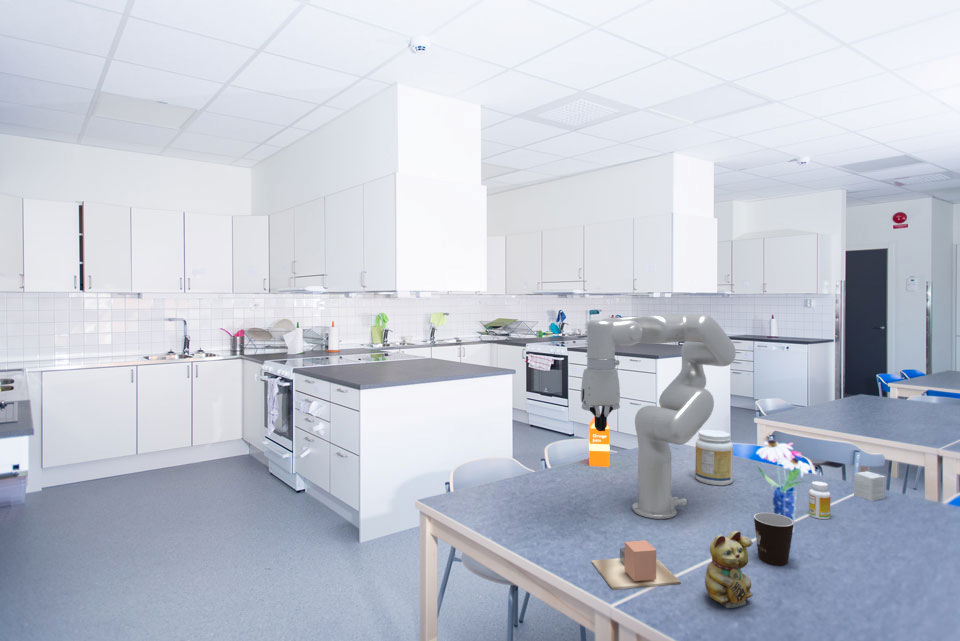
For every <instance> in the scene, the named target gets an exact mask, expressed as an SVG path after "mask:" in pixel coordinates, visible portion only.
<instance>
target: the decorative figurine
mask: <svg viewBox="0 0 960 641" xmlns="http://www.w3.org/2000/svg"><path fill="white" fill-rule="evenodd" d="M741 534H742V533H741V531H739V530H732V531H731V532H730V533H729V534H728V536H727V537H726V536H725V535H722V534H718V535H717V536H715V537H714V539H713V540H712V541H711V543H710V545H709V553H710V556H711V562H709V563H708V564H707V566H706V570H705V576H704V585H705V589H706V592H707V594H708V596H709V597H710V598H711V599H713V600H714V601H716V602H717V603H719V604H720V605H722V606H723V607H725V608H726V609H730V608H731V609H732V608H733V609H734V608H737V607H742V606H745V605H746V604H747V602H746V600H747V599H750V598H751V597H753V592H752V591H751V588H752V581H751V578H750V576H748V575H747V574H744V573H743V572H742V570H741V569H743V568H746V566H747V565H748V563H749V553H748V549H747V548H750V547H751V546H753V540H752V539H751V538H749V537H748V536H741Z"/></svg>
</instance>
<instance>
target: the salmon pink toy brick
mask: <svg viewBox="0 0 960 641" xmlns="http://www.w3.org/2000/svg"><path fill="white" fill-rule="evenodd" d="M624 548H625V571H626V572H627V574H628V575H629V576H630V577H631V578H632V579H633V581H643V580H655V579H656V558H657V549H656V548H655V547H654V546H652V544H650V542H649V541H648V540H634V541H633V540H632V541H624Z"/></svg>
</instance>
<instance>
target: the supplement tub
mask: <svg viewBox="0 0 960 641" xmlns="http://www.w3.org/2000/svg"><path fill="white" fill-rule="evenodd" d="M731 440H732V439H731V433H729V432H727V431H724V430H718V429H702V430H698V435H697V439H696V441H695V478H696V479H697V481H699V482H701V483H703V484H707V485H713V486H727V485H730V484H732V482H733V481H734V444H733V442H732V441H731Z"/></svg>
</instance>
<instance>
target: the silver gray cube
mask: <svg viewBox="0 0 960 641" xmlns="http://www.w3.org/2000/svg"><path fill="white" fill-rule="evenodd" d="M619 558H620V561H621V562H622V564H623V565H624V566H625V547H621V548H619Z"/></svg>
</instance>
